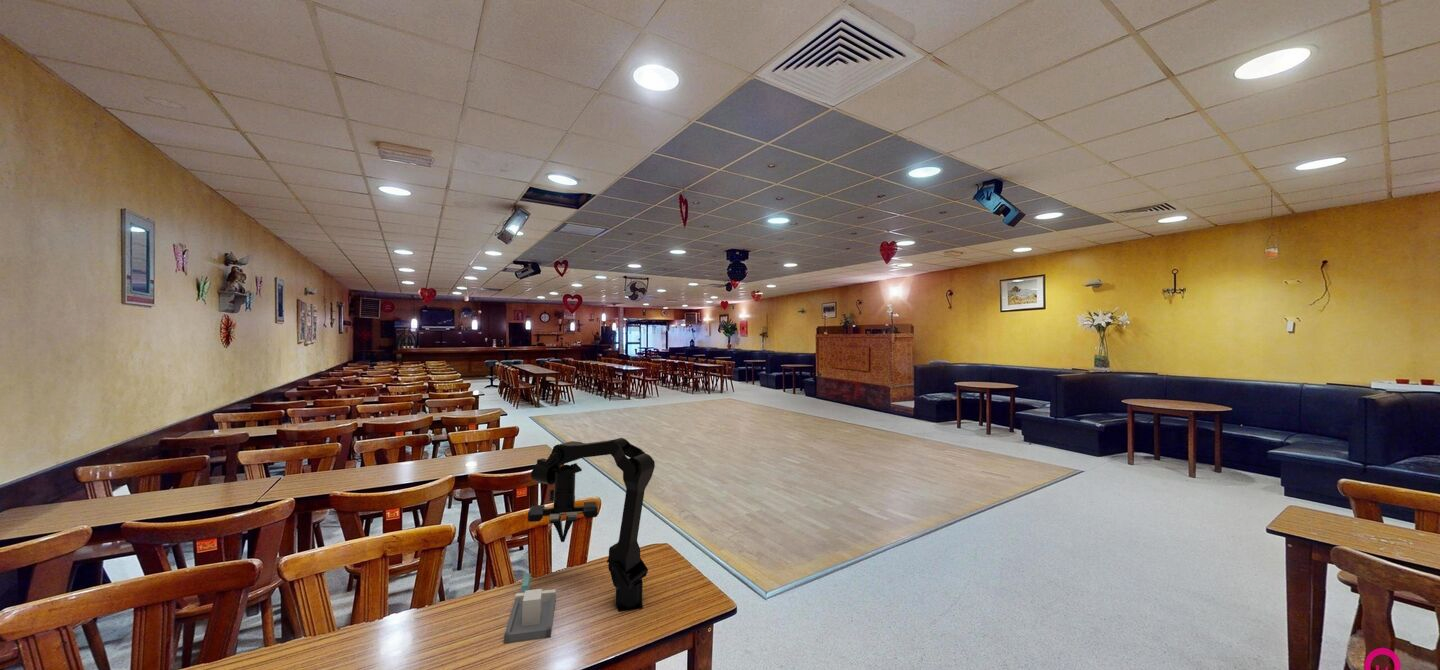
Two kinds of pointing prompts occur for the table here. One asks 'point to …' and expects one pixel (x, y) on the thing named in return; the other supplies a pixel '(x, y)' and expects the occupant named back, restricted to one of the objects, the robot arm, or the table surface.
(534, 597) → the block
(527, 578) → the gate
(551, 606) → the grey base plate
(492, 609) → the table surface
